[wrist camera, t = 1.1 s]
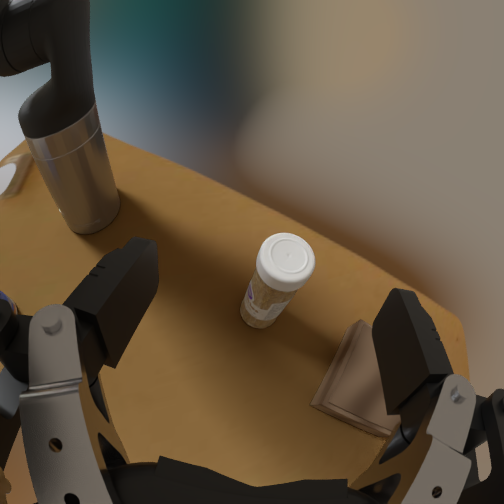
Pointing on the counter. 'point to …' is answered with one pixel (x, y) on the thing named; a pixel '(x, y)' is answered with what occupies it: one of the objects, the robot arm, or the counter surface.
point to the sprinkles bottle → (276, 278)
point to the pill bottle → (2, 296)
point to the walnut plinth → (356, 384)
